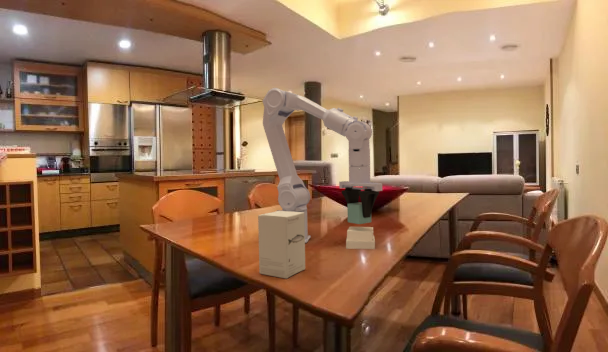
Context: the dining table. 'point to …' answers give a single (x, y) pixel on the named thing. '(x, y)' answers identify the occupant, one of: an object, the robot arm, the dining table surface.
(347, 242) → the bottom slab
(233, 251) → the dining table surface
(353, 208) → the teal block
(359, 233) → the top slab
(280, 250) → the supplement box
